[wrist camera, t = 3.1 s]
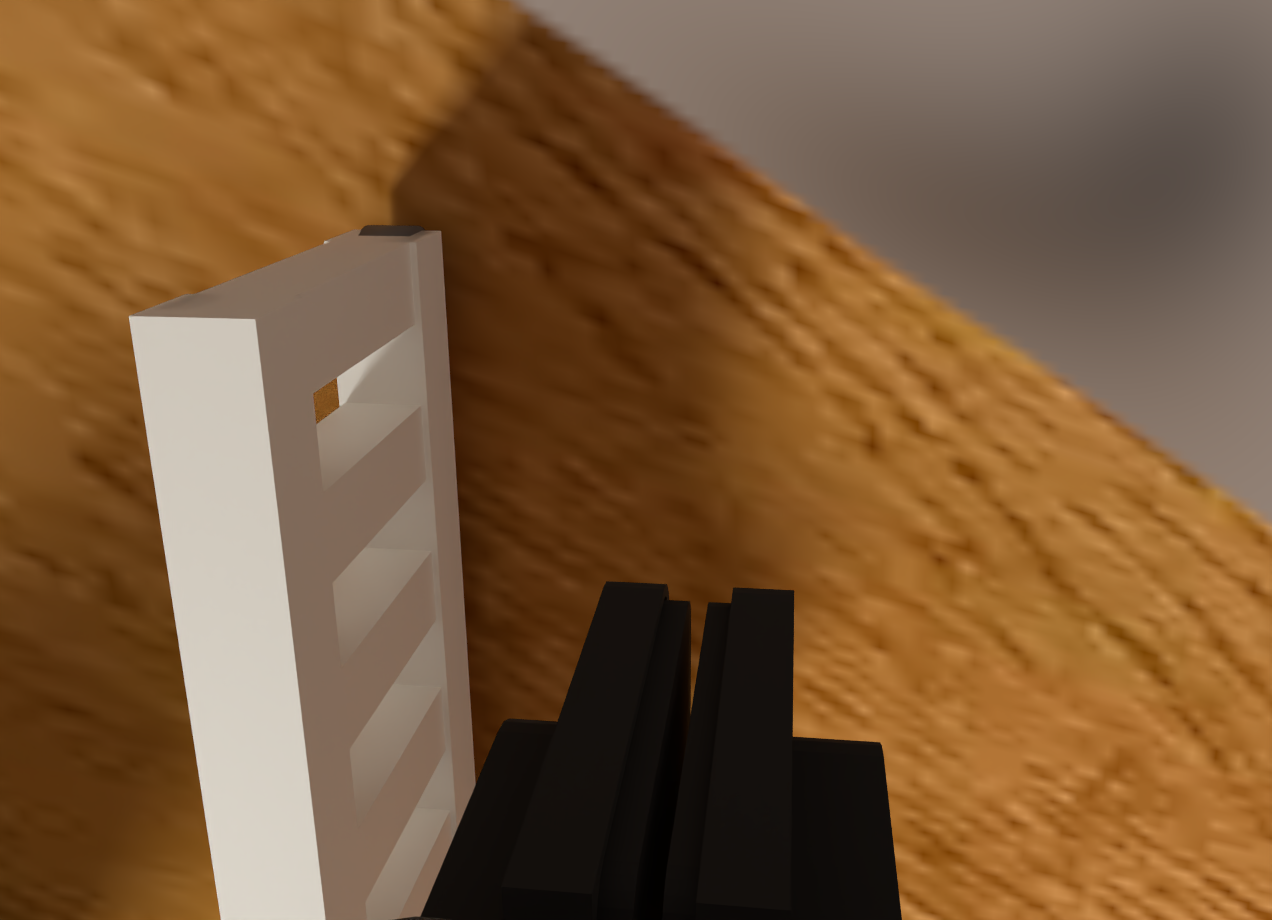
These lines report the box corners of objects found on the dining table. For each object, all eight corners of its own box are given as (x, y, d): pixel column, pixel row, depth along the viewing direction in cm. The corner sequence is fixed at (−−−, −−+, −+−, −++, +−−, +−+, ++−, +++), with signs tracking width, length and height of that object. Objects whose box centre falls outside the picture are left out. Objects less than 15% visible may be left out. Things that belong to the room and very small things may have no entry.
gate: (484, 811, 22) (349, 1123, 16) (413, 806, 22) (250, 1110, 16) (449, 219, 18) (253, 308, 12) (363, 219, 19) (126, 306, 12)
